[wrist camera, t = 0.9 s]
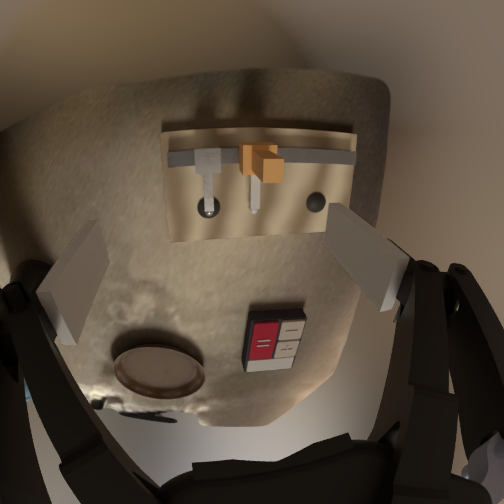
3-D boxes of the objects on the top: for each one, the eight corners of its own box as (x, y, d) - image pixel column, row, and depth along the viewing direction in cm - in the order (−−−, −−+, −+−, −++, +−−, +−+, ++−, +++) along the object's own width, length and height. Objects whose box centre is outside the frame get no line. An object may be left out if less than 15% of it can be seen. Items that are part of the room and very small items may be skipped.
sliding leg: (237, 210, 38) (251, 246, 29) (237, 140, 33) (253, 152, 24) (265, 209, 39) (288, 243, 30) (267, 140, 34) (294, 153, 25)
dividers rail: (173, 213, 37) (170, 227, 33) (168, 146, 33) (163, 152, 28) (343, 205, 42) (359, 217, 37) (350, 146, 37) (368, 152, 33)
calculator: (309, 319, 50) (293, 370, 56) (301, 305, 54) (287, 356, 60) (252, 322, 48) (244, 374, 54) (247, 308, 51) (241, 360, 58)
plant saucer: (213, 384, 61) (214, 395, 58) (136, 392, 59) (135, 403, 56) (192, 328, 51) (192, 341, 48) (99, 340, 48) (96, 351, 46)
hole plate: (171, 238, 41) (170, 243, 39) (161, 132, 33) (160, 132, 31) (341, 226, 45) (345, 230, 44) (352, 133, 37) (357, 134, 36)
